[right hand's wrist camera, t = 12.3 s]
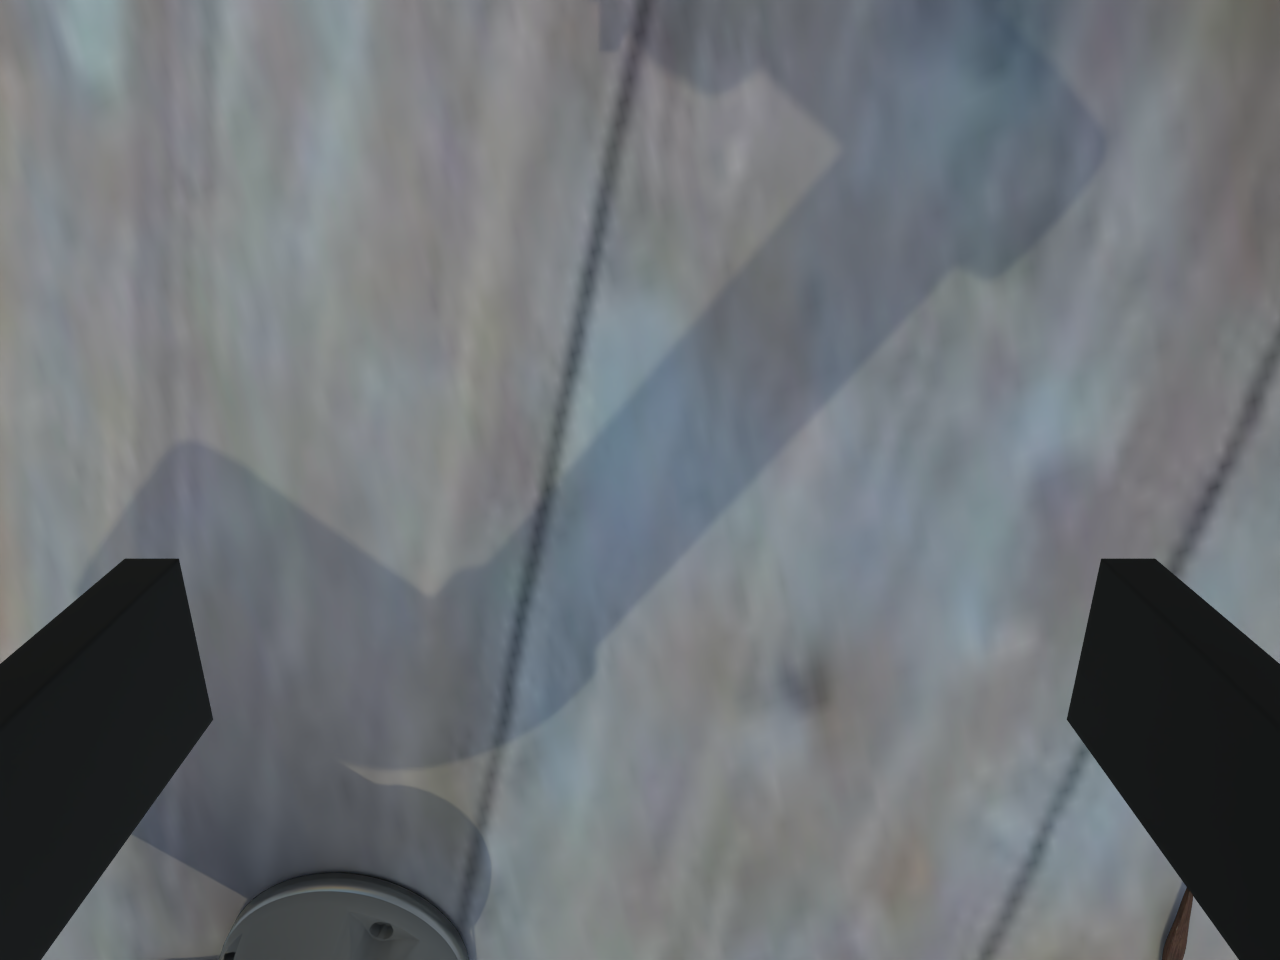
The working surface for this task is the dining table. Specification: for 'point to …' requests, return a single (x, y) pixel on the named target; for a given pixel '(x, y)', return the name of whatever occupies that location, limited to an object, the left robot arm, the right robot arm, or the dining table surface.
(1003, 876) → the dining table surface
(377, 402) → the dining table surface
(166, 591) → the right robot arm
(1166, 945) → the fork
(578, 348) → the dining table surface
